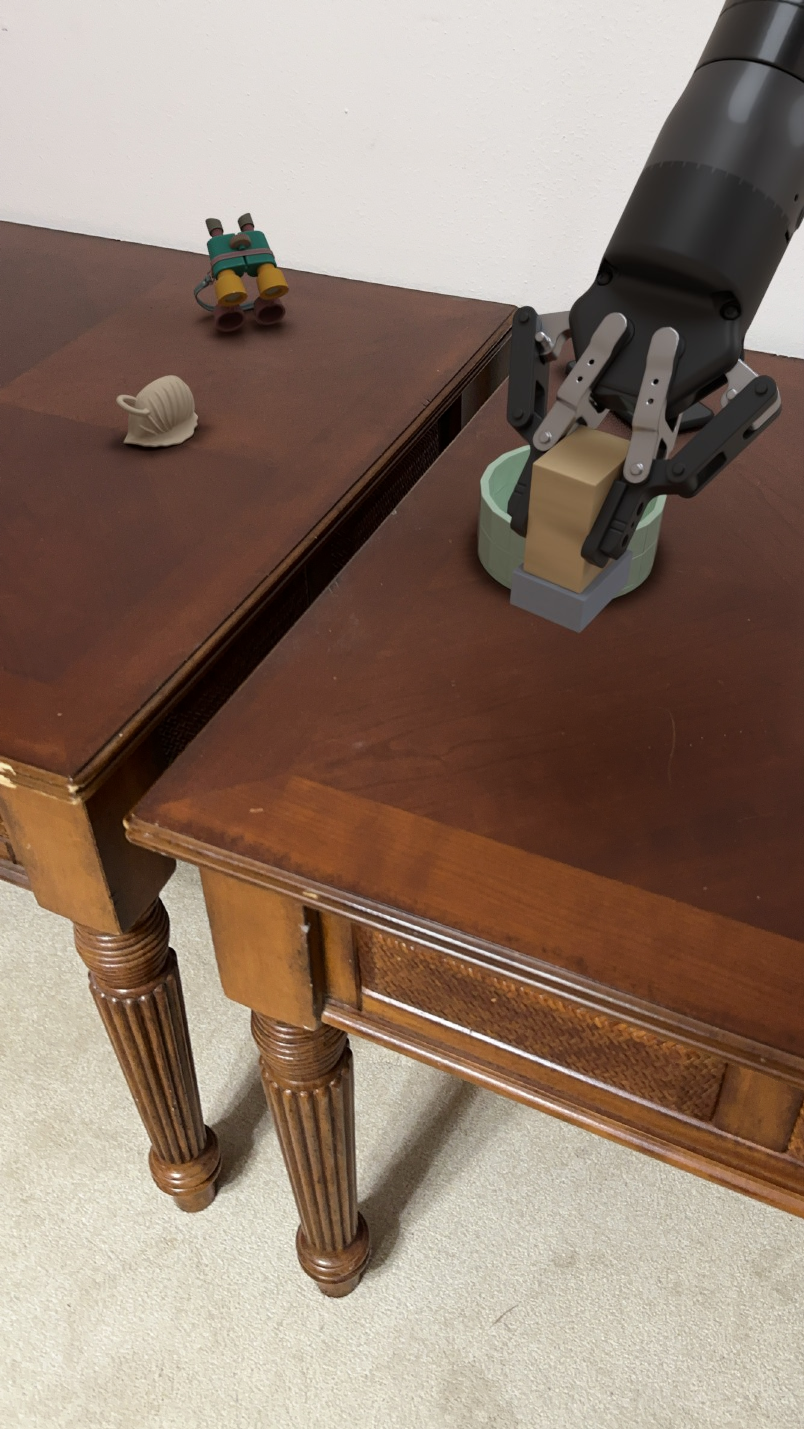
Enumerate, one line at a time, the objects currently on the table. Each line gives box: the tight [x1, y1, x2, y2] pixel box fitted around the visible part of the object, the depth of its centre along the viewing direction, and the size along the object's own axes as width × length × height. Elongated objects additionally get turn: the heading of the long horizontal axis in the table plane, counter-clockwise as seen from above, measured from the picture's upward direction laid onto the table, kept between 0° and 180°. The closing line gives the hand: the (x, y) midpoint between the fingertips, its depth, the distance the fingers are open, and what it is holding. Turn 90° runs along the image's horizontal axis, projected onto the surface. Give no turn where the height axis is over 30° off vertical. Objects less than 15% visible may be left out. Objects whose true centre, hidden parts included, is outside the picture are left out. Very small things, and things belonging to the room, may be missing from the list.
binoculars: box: [193, 212, 290, 333], centre depth 110 cm, size 9×9×10 cm
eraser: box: [509, 425, 633, 634], centre depth 53 cm, size 5×4×8 cm
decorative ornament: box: [116, 374, 199, 448], centre depth 94 cm, size 4×8×5 cm, turn 140°
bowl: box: [476, 444, 668, 599], centre depth 81 cm, size 13×13×6 cm
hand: (557, 546), depth 52 cm, fingers closed on eraser, 3 cm apart
